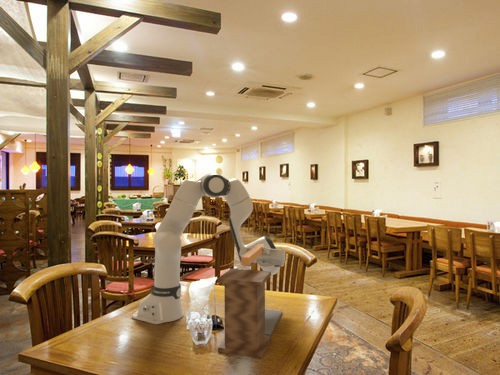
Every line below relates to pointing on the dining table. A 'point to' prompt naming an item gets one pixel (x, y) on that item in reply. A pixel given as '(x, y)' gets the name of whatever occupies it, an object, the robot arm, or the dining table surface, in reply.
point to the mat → (271, 320)
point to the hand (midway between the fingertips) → (258, 248)
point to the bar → (252, 255)
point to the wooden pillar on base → (245, 312)
